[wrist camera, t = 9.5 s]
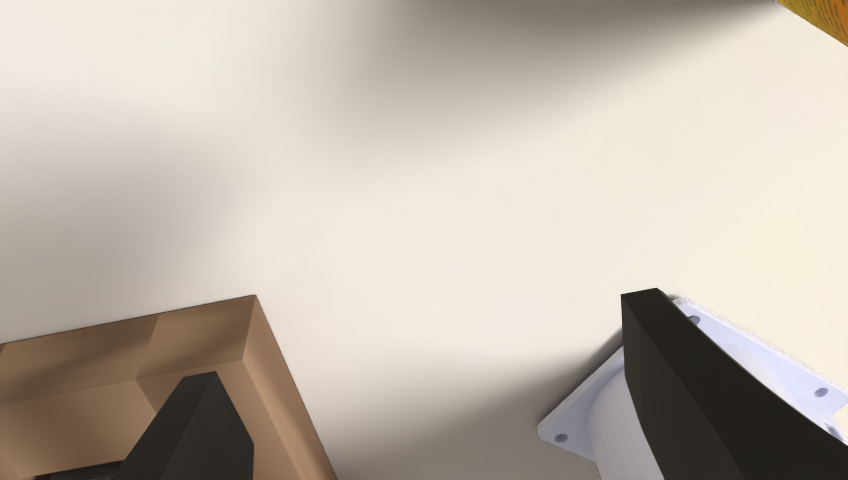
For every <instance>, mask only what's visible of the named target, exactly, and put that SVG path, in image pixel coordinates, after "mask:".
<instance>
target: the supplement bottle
mask: <svg viewBox="0 0 848 480" xmlns="http://www.w3.org/2000/svg"><path fill="white" fill-rule="evenodd" d="M774 1H776V2H777V3H779V4H781V5H783V6H784V7H786V8H787V9H789V10H790V11H792V12H794V13H795V14H797V15H798V16H800V17H802V18H803V19H805V20H806V21H808V22H809V23H811V24H812V25H814V26H816V27H817V28H819V29H821V30H822V31H824V32H825V33H827V34H829V35H830V36H832V37H833V38H835V39H836V40H838V41H840V42H841V43H843V44H844V45H846V46H847V47H848V0H774Z"/></svg>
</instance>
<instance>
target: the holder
mask: <svg viewBox="0 0 848 480" xmlns="http://www.w3.org/2000/svg"><path fill="white" fill-rule="evenodd" d="M212 371H216V372H217V374H218V376H219V378H220V380H221V382H222V384H223V385H224V387H225V389H226V391H227V393H228V395H229V397H230V399H231V401H232V403H233V404H234V406H235V408H236V410H237V412H238V414H239V416H240V418H241V420H242V422H243V423H244V425H245V427H246V429H247V431H248V433H249V435H250V437H251V439H252V441H253V443H254V467H253V480H337V478H336V476H335V473H334V471H333V469H332V467H331V464H330V462H329V460H328V458H327V455H326V453H325V451H324V448H323V446H322V444H321V442H320V439H319V437H318V435H317V432H316V430H315V428H314V426H313V423H312V421H311V419H310V417H309V414H308V412H307V410H306V407H305V405H304V403H303V401H302V398H301V396H300V394H299V391H298V389H297V387H296V385H295V382H294V380H293V378H292V376H291V373H290V371H289V369H288V366H287V364H286V362H285V360H284V357H283V355H282V353H281V351H280V348H279V346H278V344H277V341H276V339H275V337H274V335H273V332H272V330H271V328H270V325H269V323H268V321H267V319H266V316H265V314H264V312H263V310H262V307H261V305H260V303H259V300H258V298H257V296H256V295H252V296H247V297H242V298H237V299H232V300H227V301H221V302H216V303H211V304H206V305H201V306H196V307H191V308H186V309H180V310H175V311H170V312H165V313H160V314H155V315H150V316H144V317H139V318H134V319H129V320H124V321H119V322H114V323H109V324H103V325H98V326H93V327H88V328H83V329H78V330H73V331H68V332H62V333H57V334H52V335H47V336H42V337H37V338H32V339H26V340H21V341H16V342H11V343H6V344H1V345H0V480H50V478H51V476H52V474H53V472H59V471H64V470H70V469H75V468H81V467H86V466H92V465H97V464H103V463H108V462H114V461H119V460H125V458H126V457H127V456H128V454H129V453H130V451H131V450H132V449H133V447H134V446H135V444H136V443H137V442H138V440H139V439H140V437H141V436H142V435H143V433H144V432H145V430H146V429H147V427H148V426H149V425H150V423H151V422H152V420H153V419H154V417H155V416H156V414H157V413H158V412H159V410H160V409H161V407H162V406H163V404H164V403H165V402H166V400H167V399H168V397H169V396H170V394H171V393H172V392H173V390H174V389H175V387H176V386H177V385H178V383H179V382H180V380H181V379H182V378H183V377H185V376H191V375H196V374H201V373H206V372H212Z"/></svg>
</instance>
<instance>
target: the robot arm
mask: <svg viewBox="0 0 848 480" xmlns="http://www.w3.org/2000/svg"><path fill="white" fill-rule="evenodd" d="M621 309H622V330H623V346H622V347H621V348H620V349H618V350H617V351H616V352H615V353H614V354H613V355H612V356H611V357H610V358H609V359H608V360H607V361H606V362H604V363H603V364H602V365H601V366H600V367H599V368H598V369H597V370H596V371H595V372H594V373H593V374H592V375H590V376H589V377H588V378H587V379H586V380H585V381H584V382H583V383H582V384H581V385H580V386H579V387H578V388H576V389H575V390H574V391H573V392H572V393H571V394H570V395H569V396H568V397H567V398H566V399H565V400H564V401H562V402H561V403H560V404H559V405H558V406H557V407H556V408H555V409H554V410H553V411H552V412H551V413H550V414H548V415H547V416H546V417H545V418H544V419H543V420H542V421H541V422H540V423H539V424H538V426H537V432H538V436H539V438H540V439H542V440H543V441H545V442H548V443H550V444H553V445H555V446H557V447H560V448H562V449H564V450H567V451H569V452H571V453H574V454H576V455H579V456H581V457H583V458H586V459H588V460H590V461H593V462H595V463H597V466H598V469H599V473H600V476H601V479H602V480H848V437H847V435H846V434H845V433H844V431H843V430H842V428H841V427H840V425H839V424H838V422H837V421H836V419H835V418H834V416H833V414H834V413H835V412H837V411H838V410H839V409H841V408H842V407H844V406H845V405H846V404H847V403H848V392H847V391H846V389H845V388H844V387H842V386H840V385H839V384H837V383H835V382H833V381H832V380H830V379H828V378H826V377H825V376H823V375H821V374H819V373H818V372H816V371H814V370H812V369H811V368H809V367H807V366H805V365H804V364H802V363H800V362H798V361H797V360H795V359H793V358H791V357H790V356H788V355H786V354H784V353H783V352H781V351H779V350H777V349H776V348H774V347H772V346H770V345H769V344H767V343H765V342H763V341H762V340H760V339H758V338H756V337H755V336H753V335H751V334H749V333H748V332H746V331H744V330H742V329H740V328H739V327H737V326H735V325H733V324H732V323H730V322H728V321H726V320H725V319H723V318H721V317H719V316H718V315H716V314H714V313H712V312H711V311H709V310H707V309H705V308H704V307H702V306H700V305H698V304H697V303H695V302H693V301H691V300H690V299H687V298H677V299H674V300H672V301H671V300H670V299H669V298H668V297H667V296H666V294H665V293H664V292H662V291H661V290H659V289H658V288H653V289H647V290H642V291H637V292H631V293H626V294H621ZM693 315H694V317H692V318H688V317H690V316H693ZM253 467H254V443H253V441H252V439H251V437H250V435H249V433H248V431H247V429H246V427H245V425H244V423H243V422H242V420H241V418H240V416H239V414H238V412H237V410H236V408H235V406H234V404H233V403H232V401H231V399H230V397H229V395H228V393H227V391H226V389H225V387H224V385H223V384H222V382H221V380H220V378H219V376H218V374H217V372H216V371H212V372H206V373H201V374H196V375H191V376H185V377H183V378H182V379H181V380H180V382H179V383H178V385H177V386H176V387H175V389H174V390H173V392H172V393H171V394H170V396H169V397H168V399H167V400H166V402H165V403H164V404H163V406H162V407H161V409H160V410H159V412H158V413H157V414H156V416H155V417H154V419H153V420H152V422H151V423H150V425H149V426H148V427H147V429H146V430H145V432H144V433H143V435H142V436H141V437H140V439H139V440H138V442H137V443H136V444H135V446H134V447H133V449H132V450H131V451H130V453H129V454H128V456H127V457H126V458H125V460H124V461H123V463H122V464H121V465H120V467H119V468H118V469H117V471H116V472H115V474H114V475H113V476H112V478H111V479H110V480H253Z"/></svg>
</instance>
